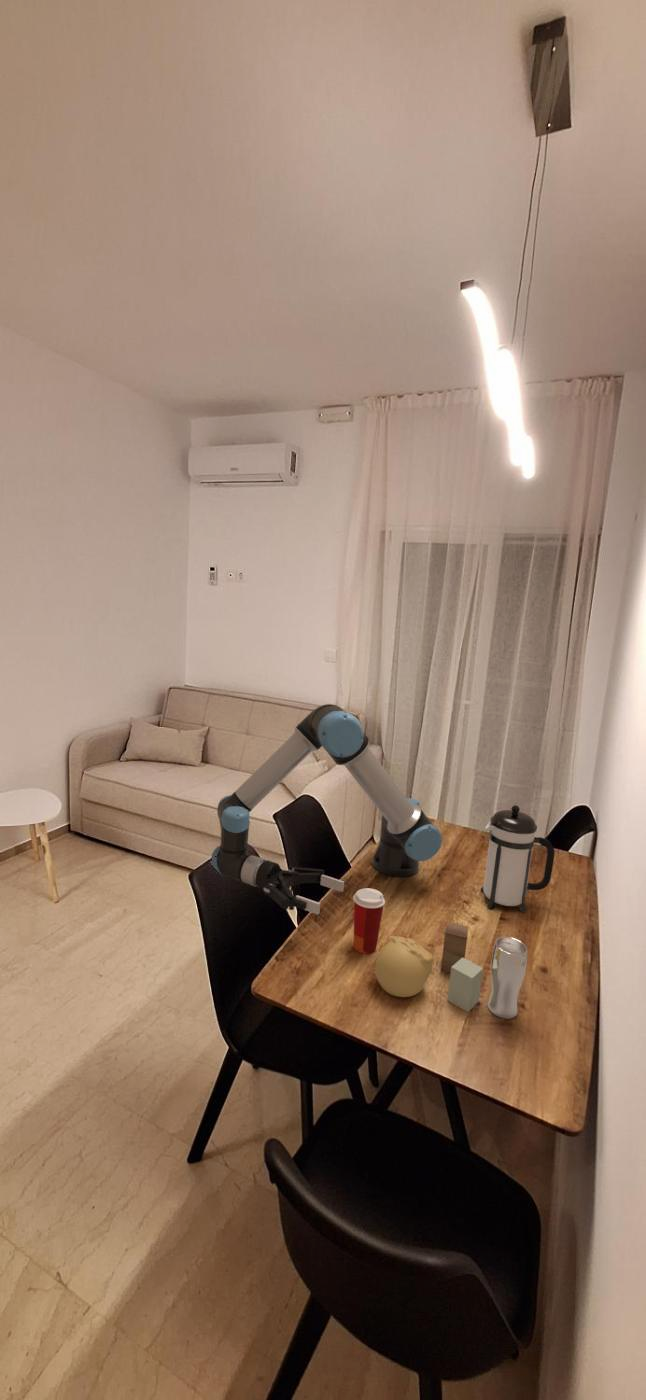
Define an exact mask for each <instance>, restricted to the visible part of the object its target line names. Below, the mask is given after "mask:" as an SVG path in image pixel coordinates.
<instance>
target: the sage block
mask: <svg viewBox="0 0 646 1400" xmlns="http://www.w3.org/2000/svg"><path fill="white" fill-rule="evenodd" d="M483 973H484V968H483V966H480V965H477V963H475V962H473V961H470V960H469V959H466V958H463V957H462V958H461V959H460V960H459V961H458V962H457V963H455V964H454V965H453V966H452V967H451V973H450V974H449V981H448V991H447V1000H446V1001H448V1002H450V1003H452V1004H453V1005H455V1006H457V1007H458V1008H460V1009H461V1010H463V1011H465V1012H467V1013H469V1012H470V1011H471V1010H472V1009H473V1008H474V1007H475V1005H477V1004H478V1003H479V1001H480V998H481V997H480V995H481V990H482V989H481V988H482V987H481V986H482V983H483V982H482V980H483Z"/></svg>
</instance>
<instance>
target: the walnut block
mask: <svg viewBox="0 0 646 1400" xmlns="http://www.w3.org/2000/svg"><path fill="white" fill-rule="evenodd" d="M468 933H469V926H466V925H462V924H458V923H454V922H448V921H447V922H446V925H445V932H444V939H443V948H442V958H441V965H440V973H445V974H448V975H450V973H451V967H452V966H453V965H454V964H455V963H457V962H458V961H459V960H460V959H461V958H462V957H463V958H465V957H466V950H467V943H468V935H469V934H468ZM465 959H466V958H465Z"/></svg>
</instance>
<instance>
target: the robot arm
mask: <svg viewBox="0 0 646 1400" xmlns="http://www.w3.org/2000/svg"><path fill="white" fill-rule="evenodd" d="M369 745H370V739H369V737H368V736H367V734H366V733H365V731H364V729H363V727H362V725H361V723H360V721H359V720H358V719H357V718H356V717H355V716H354V715H352V714H351V713H350V712H348V711H346V710H344V709H343V708H341V707H340V706H338V705H337V704H331V703H328V704H327V703H326V704H322V705H320V706H318V707H316V708H314V710H312V711H311V712H310V713H309V714H307V716H305V717H304V718H303V720H301V721H300V722H299V723H298V724H297V725H296V726H295V727H294V733H293V734H292V735H291V736H290V737H289V738H288V739H287V740H286V741H285V742H284V743H283V744H282V745H280V747H279V748H278V749H277V750H275V751H274V752H273V754H272V755H270V757H269V758H268V759H266V760H265V762H263V764H261V765H260V767H258V768H257V770H256V771H254V772H253V773H252V775H250V776H249V777H248V778H247V779H246V780H245V781H244V782H243V783H242V784H241V785H240V786H239V787H238V788H237V789H236V790H235V791H234V792H233V793H232V794H231V795H225V796H223V797H222V798H221V799H220V800H219V802H218V804H217V809H216V811H217V816H218V819H219V825H220V826H219V827H220V845H219V846H216V848H215V849H214V850H213V851H212V853H211V857H210V859H209V864H210V863H211V865H213V867H214V868H215V869H216V870H217V871H218V872H219V873H220V874H219V873H218V874H219V875H221V876H223V877H224V878H225V877H227V878H230V879H233V880H236V881H239V882H242V883H245V884H247V885H250V886H251V887H252V886H253V887H257V888H258V889H260V890H263V894H264V895H266V896H268V897H269V898H270V899H272V900H273V901H274V902H275V903H276V904H277V905H279V906H280V907H281V908H282V909H283V910H290V911H293V910H295V908H297V909H299V910H304V911H306V912H309V913H312V914H315V915H320V908H321V903H320V902H319V901H315V900H312V899H310V898H306V897H304V896H300V895H295V894H294V893H293V892H292V891H291V889H290V888H291V887H293V886H298V885H299V884H320V886H323V887H326V888H329V889H330V890H331V889H332V890H335V891H338V892H341V893H343V892H344V888H345V887H344V886H345V885H344V884H345V880H344V881H343V880H340V879H337V878H334V877H332V876H328V875H325V870H324V869H319V868H312V867H299V866H294V865H289V866H288V869H287V870H285V869H282V868H281V866H280V864H279V863H277V862H273V861H271V860H266V859H265V858H262V857H259V856H256V855H254V854H253V855H252V854H249V853H248V842H249V841H248V840H249V831H250V825H251V824H250V823H251V822H250V812H251V811H252V810H253V809H254V808H256V806H257V805H258V804H259V803H260V802H262V800H264V799H265V798H266V797H267V796H268V794H270V793H271V792H272V790H273V789H275V788H276V787H277V786H278V785H279V784H280V783H281V782H282V781H283V780H284V779H285V778H286V777H287V776H288V775H290V773H291V772H292V771H293V770H294V769H295V768H297V766H298V765H300V764H301V762H303V761H304V760H305V759H306V757H307V756H309V754H311V753H312V752H314V751H316V752H317V751H319V749H320V748H321V747H322V748H323V749H324V750H325V751H326V753H327V754H328V755H329V756H330V758H331V759H332V761H334V763H335V764H336V765H338V766H344V767H345V768H346V770H347V771H348V772H349V773H350V774H351V776H352V778H353V779H354V780H355V781H356V782H357V784H358V786H359V787H360V788H361V789H362V790H363V791H364V793H365V794H366V795H367V796H368V798H369V799H370V801H371V802H372V803H373V804H374V806H375V807H376V809H377V810H378V811H379V812H380V813H381V822H380V823H381V824H380V825H381V826H380V835H379V836H380V837H379V842H378V845H377V847H376V848H375V851H374V854H373V856H372V867H373V868H374V869H375V870H376V871H378V872H380V873H381V874H383V875H387V876H391V877H397V878H401V877H402V878H404V877H406V878H407V877H411V876H414V875H416V874H417V873H418V872H419V868H420V862H425V861H428V860H430V859H432V858H434V857H435V856H436V855H437V854H438V852H439V851H440V849H441V846H442V843H443V836H442V833H441V830H439V828H438V827H437V826H436V825H435V824H433V822H432V821H430V819H429V818H428V816H427V815H426V814H425V813H424V811H423V810H422V809H421V803H420V802H419V800H417V799H415V798H411V797H406V796H405V794H404V793H403V791H402V790H401V789H400V788H399V786H398V785H397V784H396V782H395V781H394V780H393V778H392V777H391V775H390V774H389V773H388V772H387V770H386V769H385V768H384V766H383V765H382V763H381V762H380V761H379V760H378V758H377V757H376V756H375V754H374V753H373V752H372V750H371V748H370V747H369ZM217 855H218V856H217ZM215 856H217V857H215ZM211 859H212V861H210V860H211Z"/></svg>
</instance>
